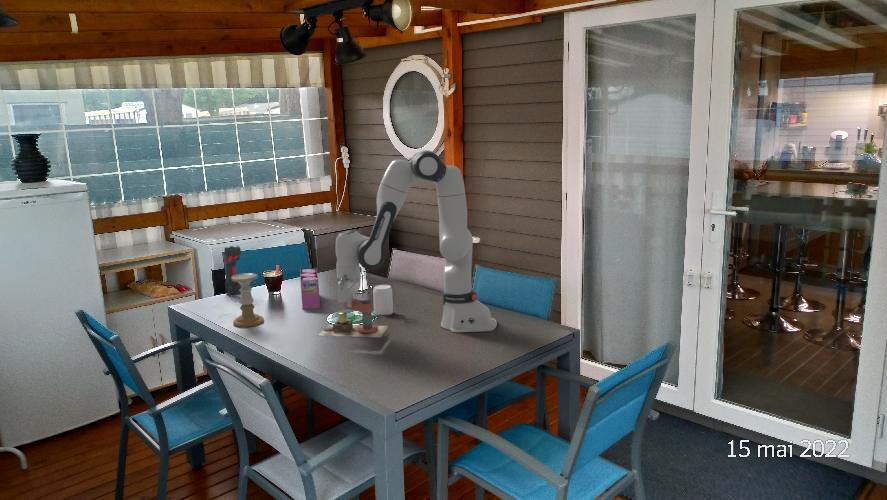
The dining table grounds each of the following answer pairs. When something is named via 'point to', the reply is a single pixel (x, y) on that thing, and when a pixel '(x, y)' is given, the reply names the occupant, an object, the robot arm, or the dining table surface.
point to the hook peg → (342, 318)
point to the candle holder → (246, 302)
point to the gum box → (309, 289)
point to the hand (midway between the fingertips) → (349, 306)
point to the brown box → (342, 327)
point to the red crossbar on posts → (364, 315)
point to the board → (355, 332)
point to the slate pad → (328, 329)
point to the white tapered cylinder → (383, 300)
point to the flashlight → (232, 269)
